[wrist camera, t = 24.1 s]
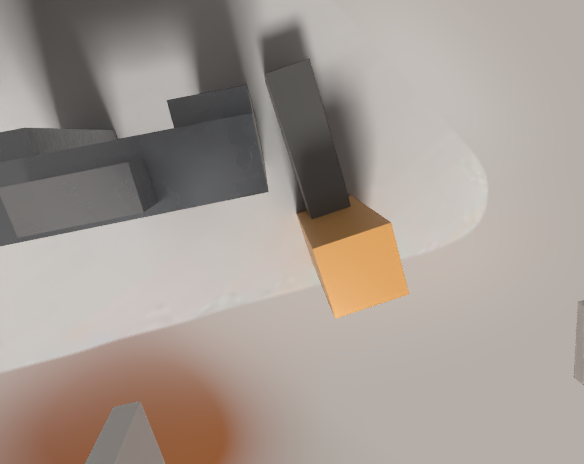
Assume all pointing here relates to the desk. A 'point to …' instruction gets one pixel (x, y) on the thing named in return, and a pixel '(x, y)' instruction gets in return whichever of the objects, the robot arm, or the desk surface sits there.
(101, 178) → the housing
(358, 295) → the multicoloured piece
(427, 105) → the desk surface
